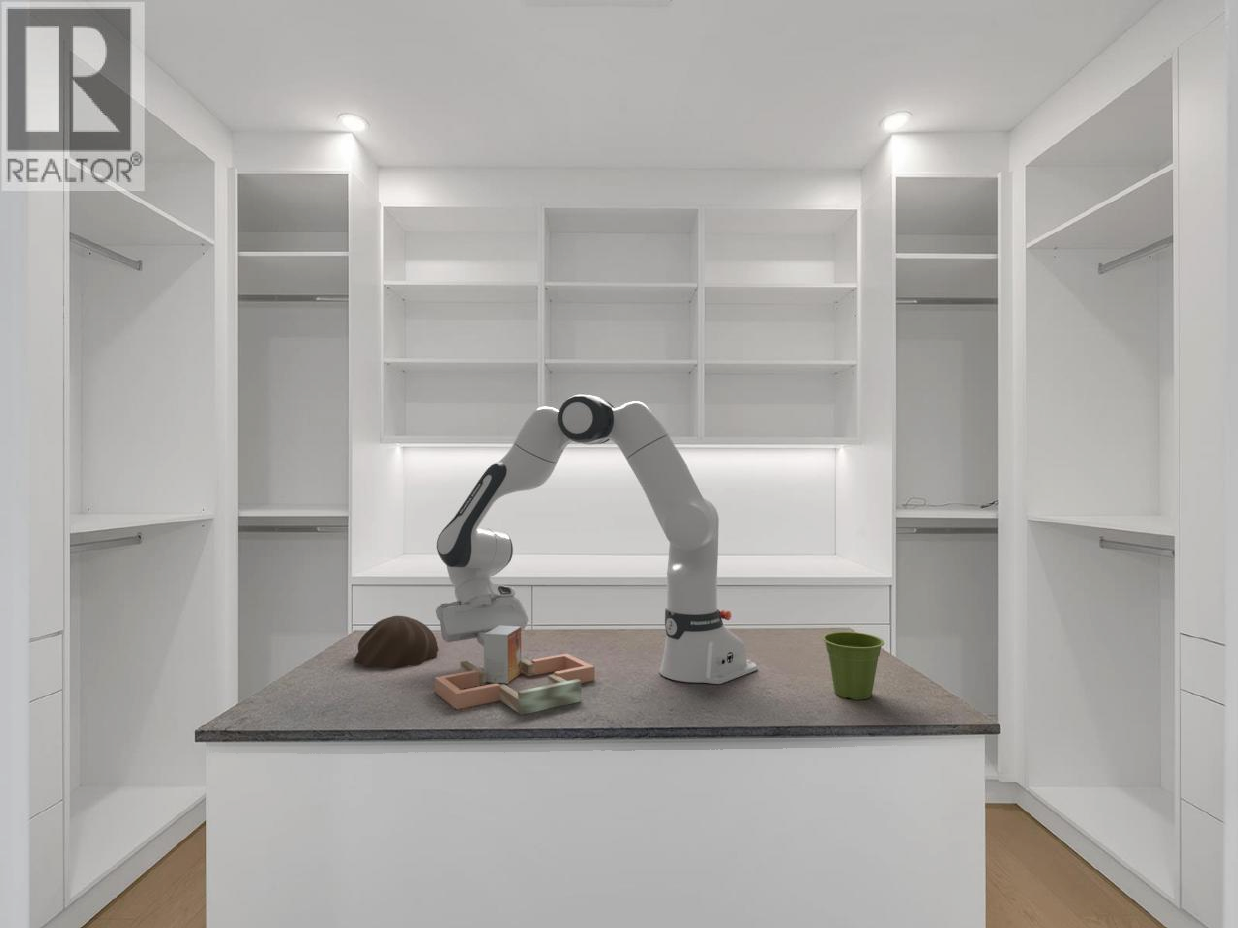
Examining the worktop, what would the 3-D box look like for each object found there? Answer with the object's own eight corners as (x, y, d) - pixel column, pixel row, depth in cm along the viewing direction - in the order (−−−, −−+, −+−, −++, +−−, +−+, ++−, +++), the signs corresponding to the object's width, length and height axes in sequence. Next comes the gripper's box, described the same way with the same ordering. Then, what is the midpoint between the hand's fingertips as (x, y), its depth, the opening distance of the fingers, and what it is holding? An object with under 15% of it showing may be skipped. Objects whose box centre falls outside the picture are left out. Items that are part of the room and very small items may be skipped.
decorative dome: (335, 661, 165) (335, 619, 165) (400, 642, 182) (400, 604, 182) (394, 674, 156) (394, 629, 156) (456, 652, 173) (456, 612, 173)
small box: (507, 684, 148) (507, 634, 148) (483, 682, 149) (483, 633, 149) (522, 673, 155) (522, 626, 155) (498, 671, 157) (498, 624, 157)
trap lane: (513, 663, 163) (513, 646, 163) (581, 701, 138) (581, 680, 138) (460, 673, 156) (460, 655, 156) (521, 714, 130) (521, 693, 130)
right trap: (566, 666, 161) (566, 653, 160) (594, 680, 151) (594, 666, 151) (531, 673, 155) (531, 659, 155) (557, 687, 146) (557, 673, 146)
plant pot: (810, 692, 143) (810, 637, 143) (845, 681, 150) (845, 628, 150) (861, 709, 133) (861, 650, 133) (896, 696, 141) (896, 640, 140)
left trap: (476, 683, 148) (476, 669, 148) (500, 700, 138) (500, 685, 138) (434, 691, 143) (434, 677, 143) (456, 709, 133) (456, 693, 133)
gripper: (437, 596, 157) (453, 650, 149) (520, 587, 168) (538, 636, 160) (430, 612, 161) (445, 665, 153) (512, 602, 172) (530, 651, 164)
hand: (494, 650), depth 157 cm, fingers closed
